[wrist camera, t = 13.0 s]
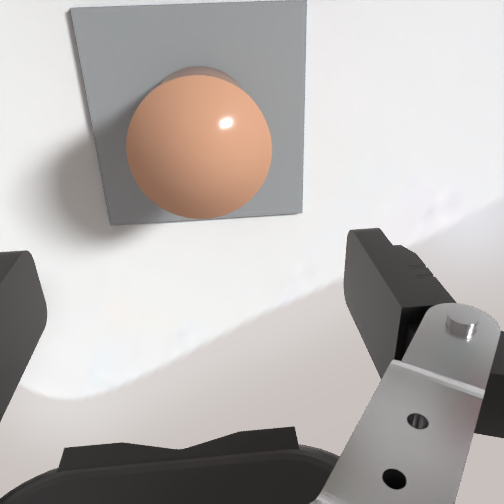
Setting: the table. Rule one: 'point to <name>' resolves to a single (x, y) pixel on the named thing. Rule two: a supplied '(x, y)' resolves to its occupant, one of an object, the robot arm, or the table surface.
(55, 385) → the table surface
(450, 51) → the table surface
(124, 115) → the gray square base plate
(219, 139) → the peach round knob
